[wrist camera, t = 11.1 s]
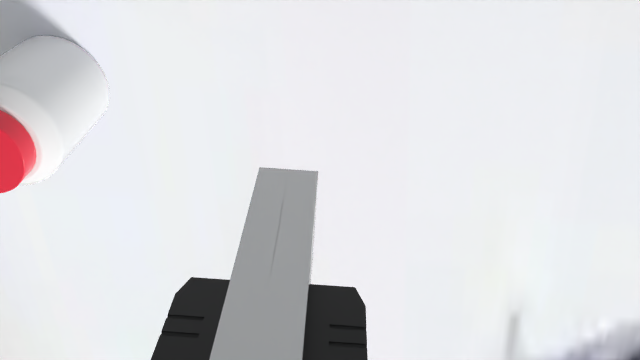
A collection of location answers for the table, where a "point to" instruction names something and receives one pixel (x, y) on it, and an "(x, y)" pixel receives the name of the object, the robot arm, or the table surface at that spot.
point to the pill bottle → (46, 106)
